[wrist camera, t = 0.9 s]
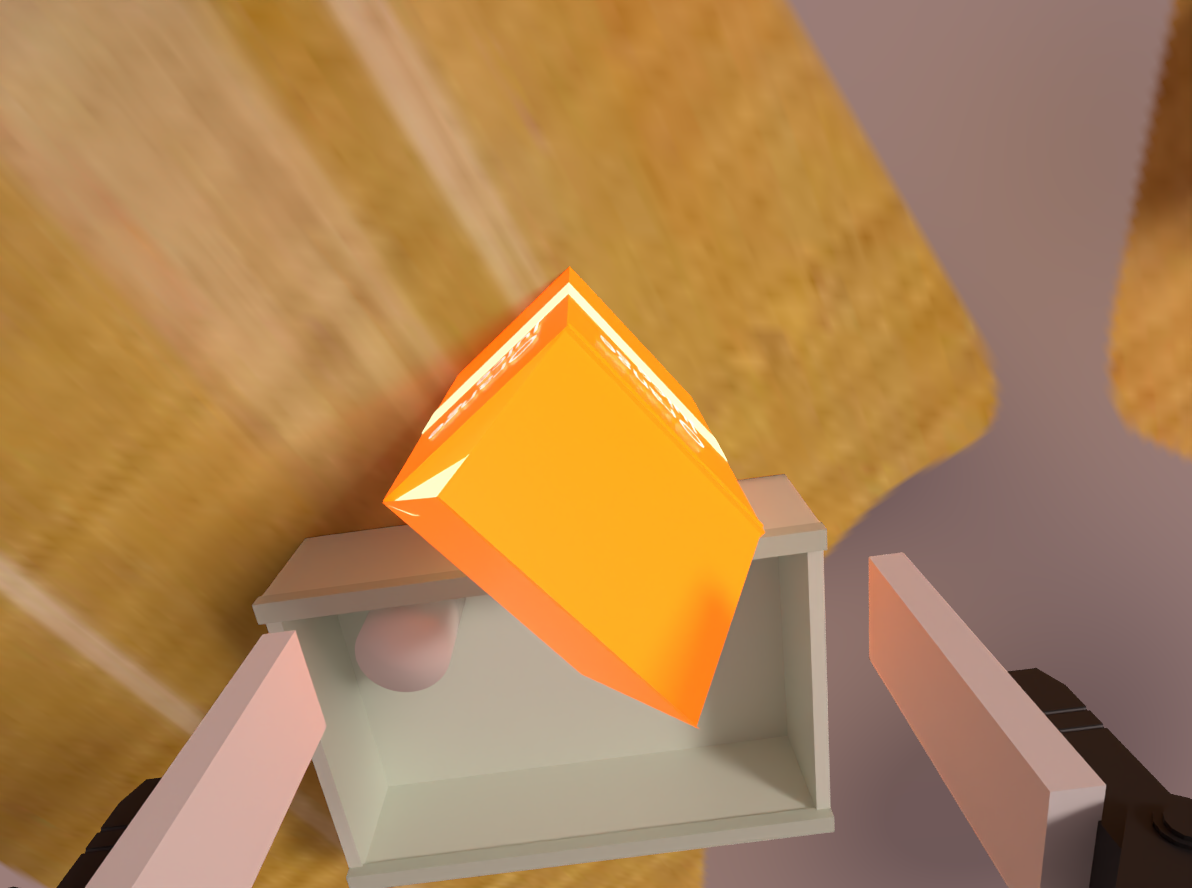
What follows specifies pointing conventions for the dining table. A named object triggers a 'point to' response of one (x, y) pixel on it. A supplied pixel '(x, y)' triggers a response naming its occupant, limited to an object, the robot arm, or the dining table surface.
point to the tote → (557, 719)
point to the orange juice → (587, 500)
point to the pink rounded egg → (409, 644)
